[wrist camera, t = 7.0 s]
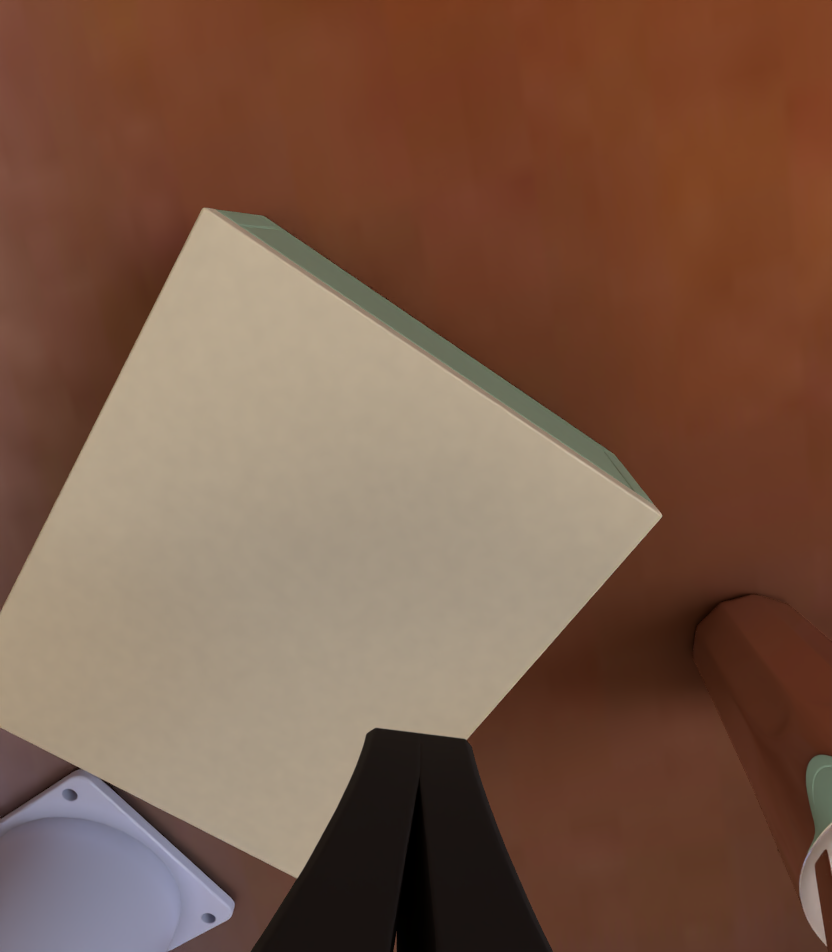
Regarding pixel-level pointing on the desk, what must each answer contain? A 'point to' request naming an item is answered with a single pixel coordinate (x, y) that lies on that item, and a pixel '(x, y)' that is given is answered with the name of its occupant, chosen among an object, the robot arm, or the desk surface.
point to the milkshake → (779, 730)
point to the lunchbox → (433, 344)
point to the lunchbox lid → (291, 554)
